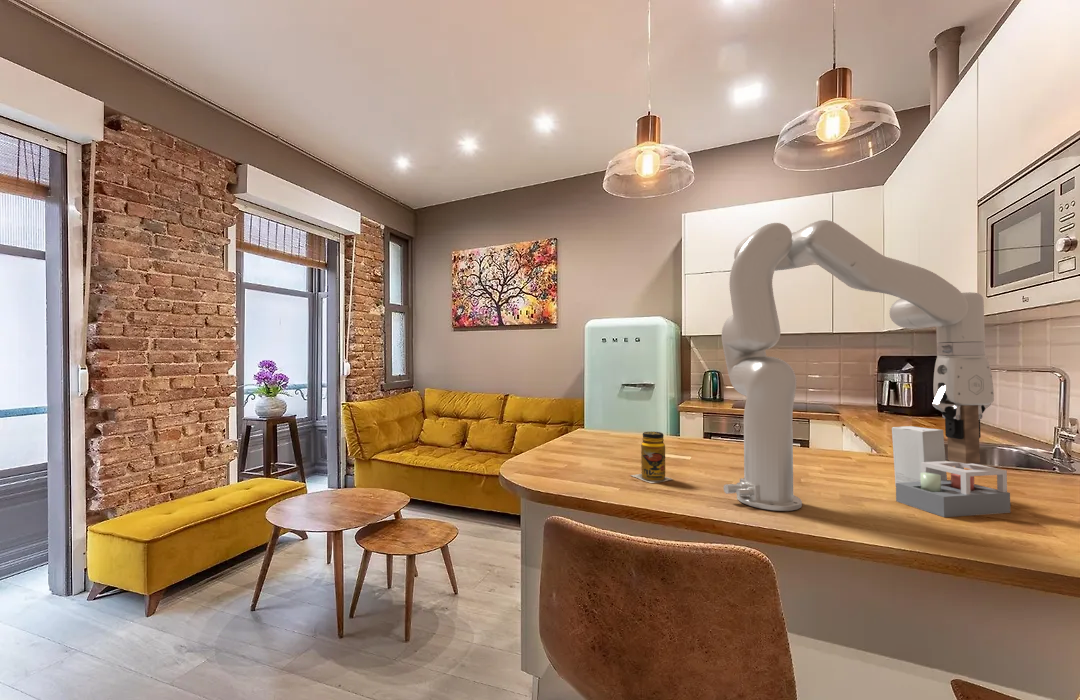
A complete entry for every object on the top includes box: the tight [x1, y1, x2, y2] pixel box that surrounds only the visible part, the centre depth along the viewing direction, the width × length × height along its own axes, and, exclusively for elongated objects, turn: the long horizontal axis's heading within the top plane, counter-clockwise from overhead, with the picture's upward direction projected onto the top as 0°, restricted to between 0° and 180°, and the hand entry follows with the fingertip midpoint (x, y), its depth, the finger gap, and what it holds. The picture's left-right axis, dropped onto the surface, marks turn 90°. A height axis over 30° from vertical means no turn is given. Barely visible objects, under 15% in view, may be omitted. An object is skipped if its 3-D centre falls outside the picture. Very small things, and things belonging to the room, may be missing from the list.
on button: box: [921, 472, 941, 492], centre depth 94 cm, size 3×3×4 cm
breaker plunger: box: [950, 473, 975, 491], centre depth 95 cm, size 4×4×3 cm
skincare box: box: [891, 425, 948, 487], centre depth 106 cm, size 8×6×15 cm
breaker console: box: [895, 460, 1011, 518], centre depth 95 cm, size 16×10×8 cm, turn 99°
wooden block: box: [947, 402, 981, 464], centre depth 95 cm, size 4×4×14 cm
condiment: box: [630, 431, 673, 484], centre depth 118 cm, size 7×8×12 cm
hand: (962, 436), depth 95 cm, fingers closed on wooden block, 3 cm apart
